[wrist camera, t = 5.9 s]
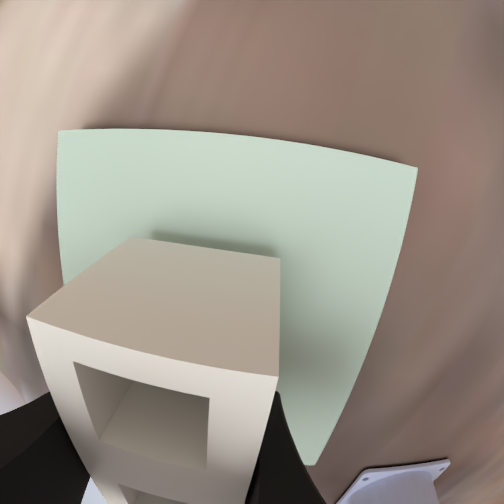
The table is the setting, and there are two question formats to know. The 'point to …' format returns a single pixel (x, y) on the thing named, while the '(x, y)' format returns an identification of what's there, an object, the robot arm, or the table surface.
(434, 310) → the table surface
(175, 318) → the beige hollow block
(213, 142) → the pin plate
